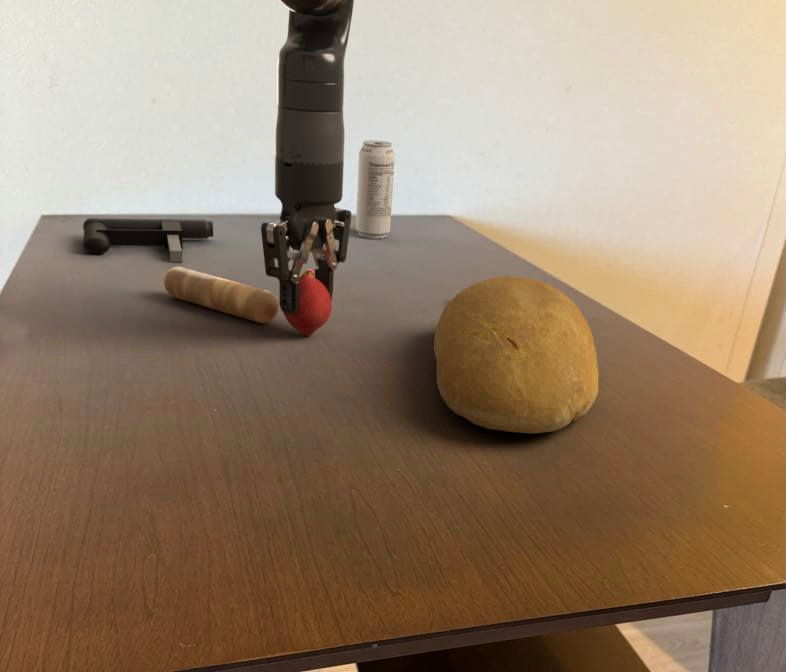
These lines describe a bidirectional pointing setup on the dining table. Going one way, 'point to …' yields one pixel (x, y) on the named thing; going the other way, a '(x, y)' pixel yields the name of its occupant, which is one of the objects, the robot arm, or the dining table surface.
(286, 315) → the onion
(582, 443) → the dining table surface
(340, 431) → the dining table surface
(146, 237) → the door handle
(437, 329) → the bread
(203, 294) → the tan rounded rod
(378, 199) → the energy drink can
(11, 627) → the dining table surface
